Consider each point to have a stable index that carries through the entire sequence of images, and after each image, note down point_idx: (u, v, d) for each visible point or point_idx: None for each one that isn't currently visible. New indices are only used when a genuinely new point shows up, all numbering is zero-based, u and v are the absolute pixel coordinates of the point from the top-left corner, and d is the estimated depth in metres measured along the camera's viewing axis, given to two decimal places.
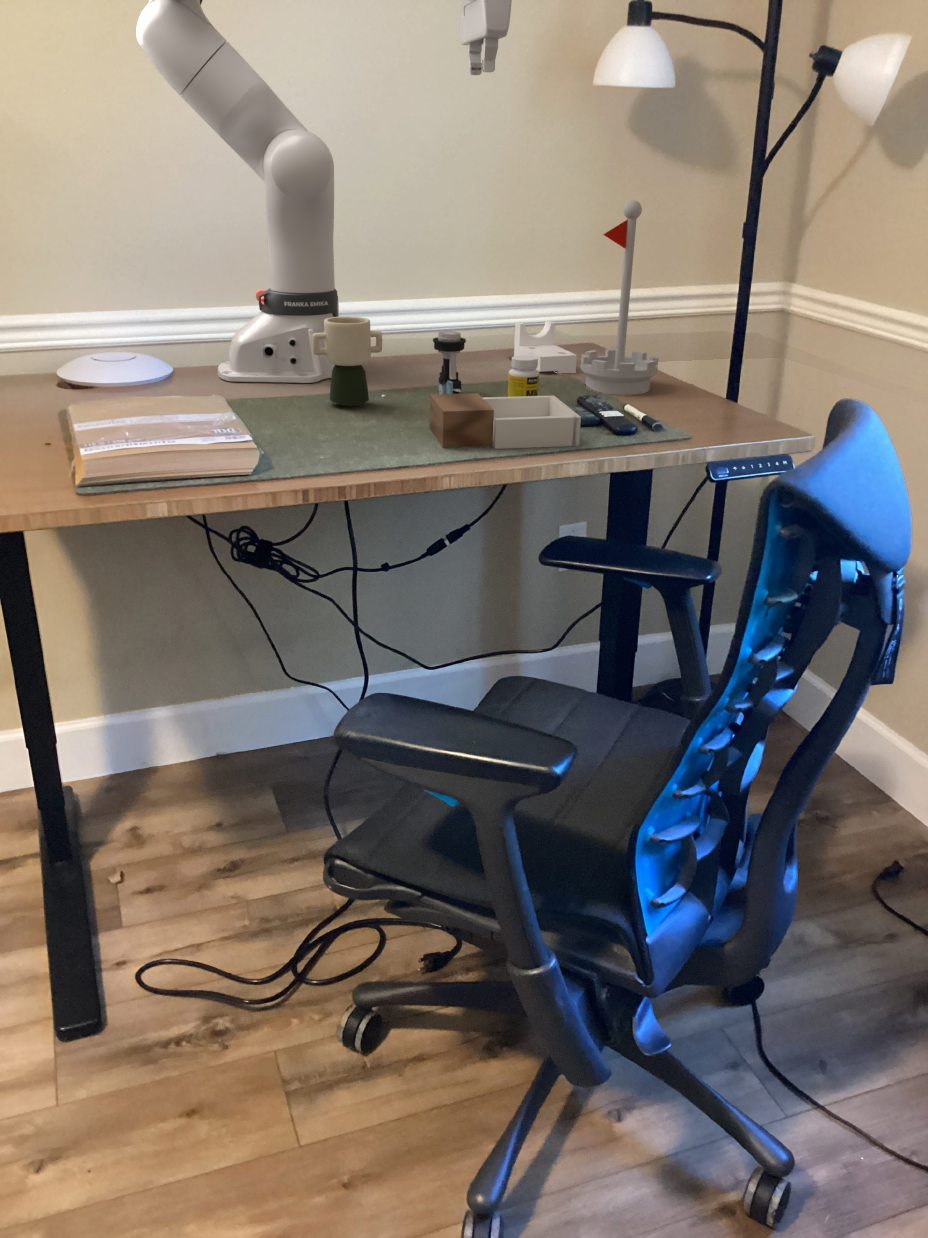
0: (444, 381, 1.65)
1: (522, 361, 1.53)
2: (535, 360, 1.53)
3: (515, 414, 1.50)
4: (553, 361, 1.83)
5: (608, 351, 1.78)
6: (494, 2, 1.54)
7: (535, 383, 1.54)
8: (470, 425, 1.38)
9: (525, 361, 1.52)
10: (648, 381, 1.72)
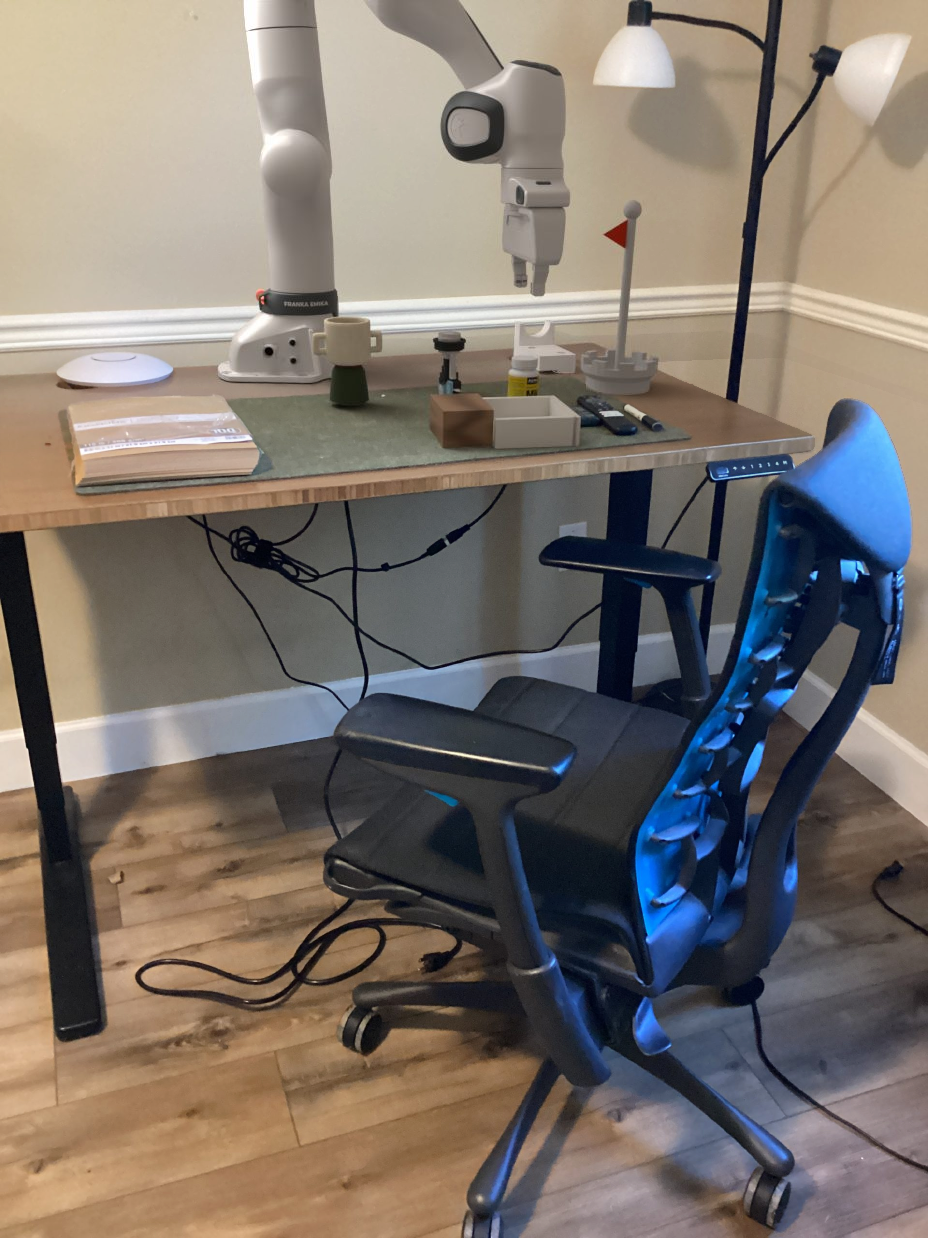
0: (444, 381, 1.65)
1: (522, 361, 1.53)
2: (535, 360, 1.53)
3: (515, 414, 1.50)
4: (553, 360, 1.83)
5: (608, 351, 1.78)
6: (546, 232, 1.38)
7: (535, 383, 1.54)
8: (470, 425, 1.38)
9: (525, 361, 1.52)
10: (648, 381, 1.72)
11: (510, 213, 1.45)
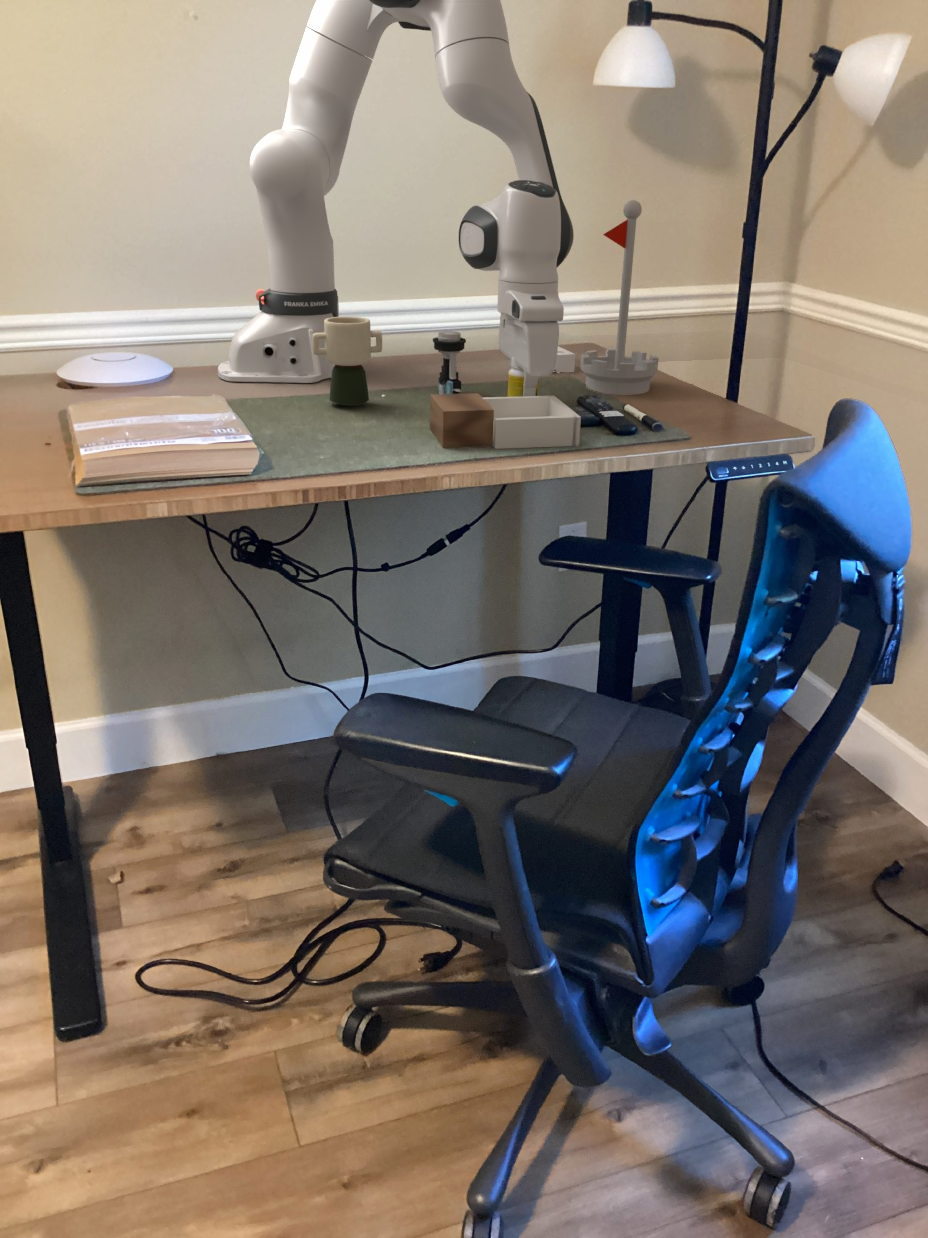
0: (444, 381, 1.65)
1: None
2: None
3: (515, 414, 1.50)
4: None
5: (608, 351, 1.78)
6: (540, 345, 1.44)
7: None
8: (470, 425, 1.38)
9: None
10: (648, 381, 1.72)
11: (506, 322, 1.51)
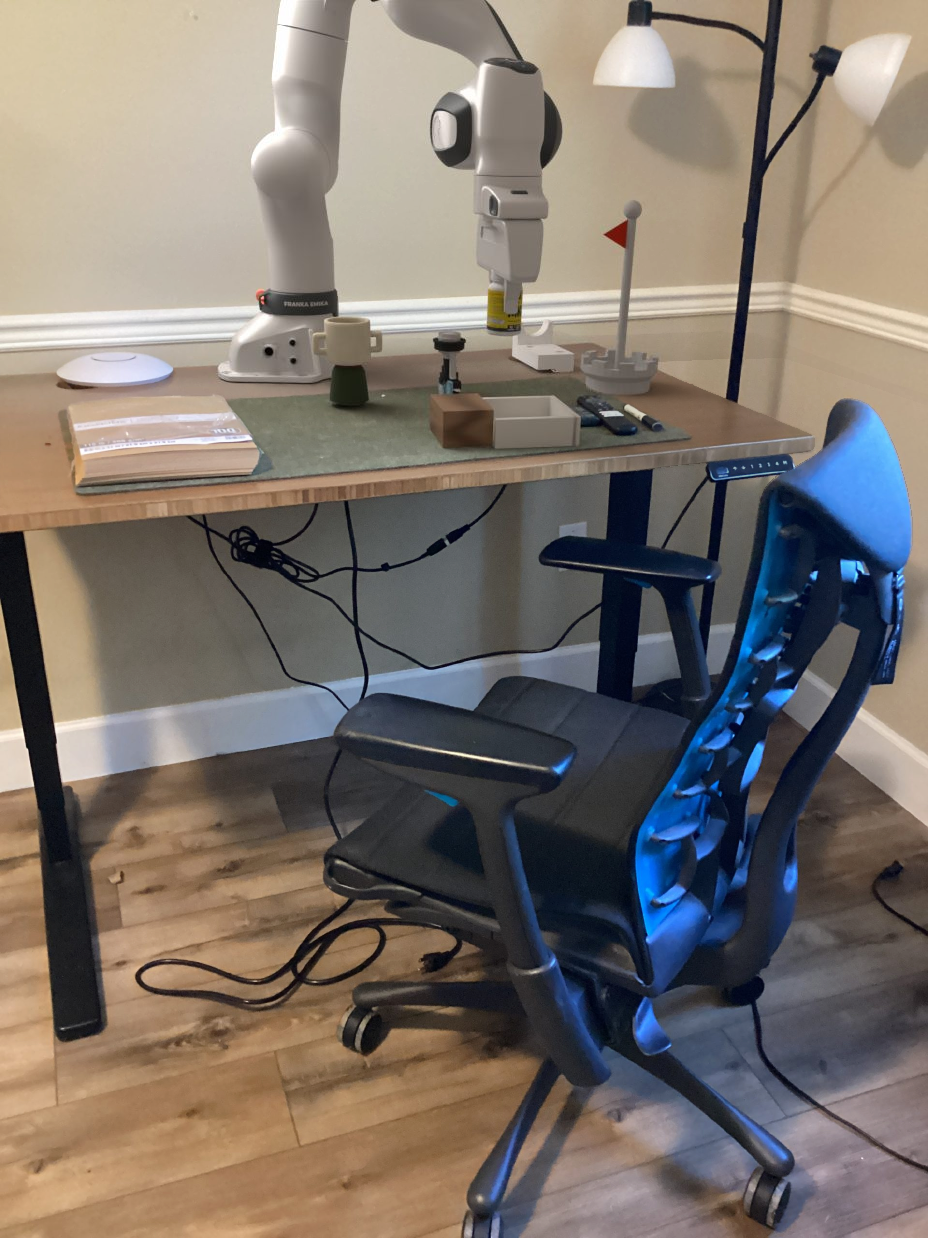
0: (444, 381, 1.65)
1: None
2: None
3: (515, 414, 1.50)
4: (551, 360, 1.84)
5: (608, 351, 1.78)
6: (522, 246, 1.25)
7: None
8: (470, 425, 1.38)
9: None
10: (648, 381, 1.72)
11: (483, 225, 1.32)
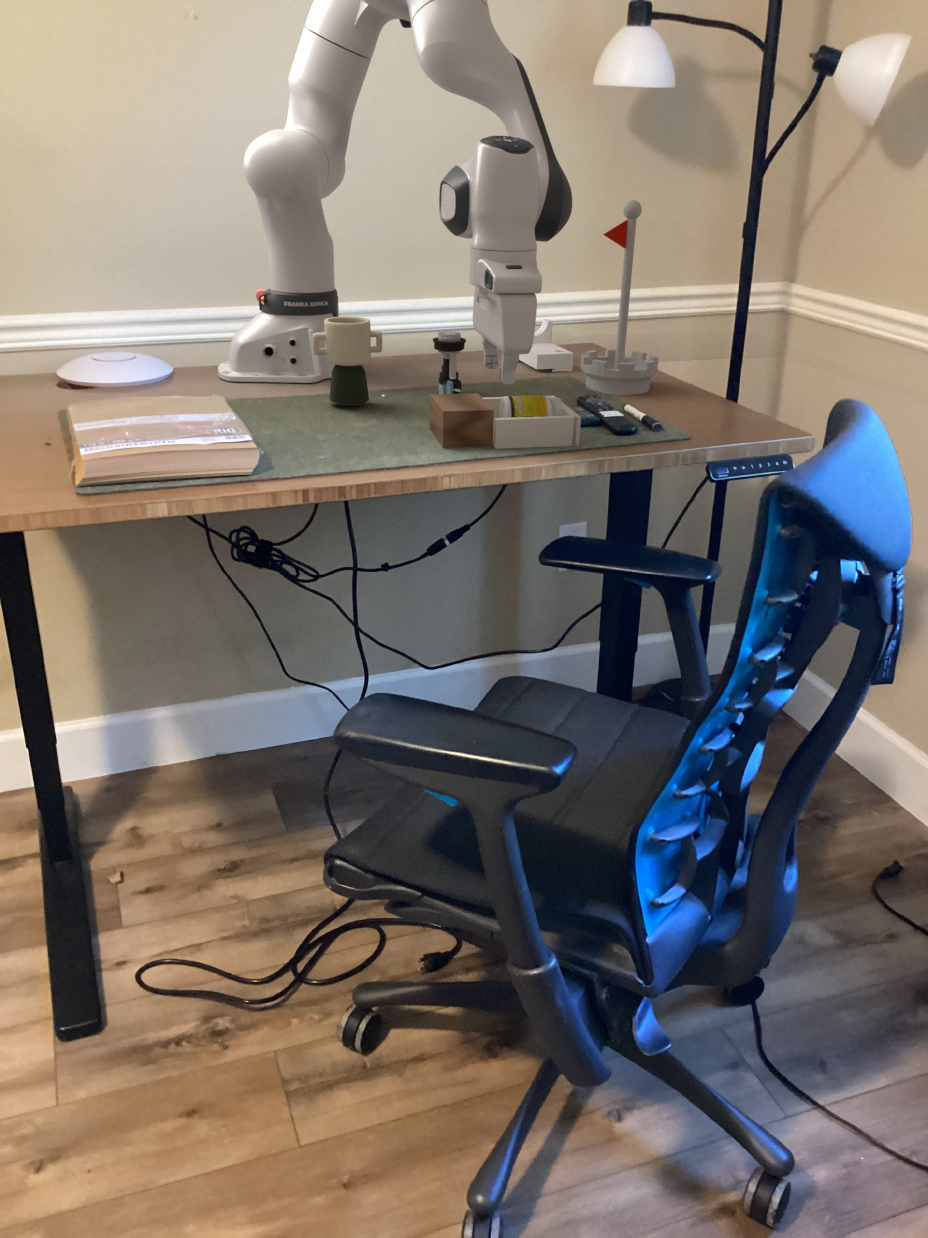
0: (444, 381, 1.65)
1: (561, 409, 1.44)
2: None
3: None
4: (550, 359, 1.84)
5: (608, 351, 1.78)
6: (515, 320, 1.29)
7: None
8: (470, 425, 1.38)
9: (562, 412, 1.44)
10: (648, 381, 1.72)
11: (479, 295, 1.36)
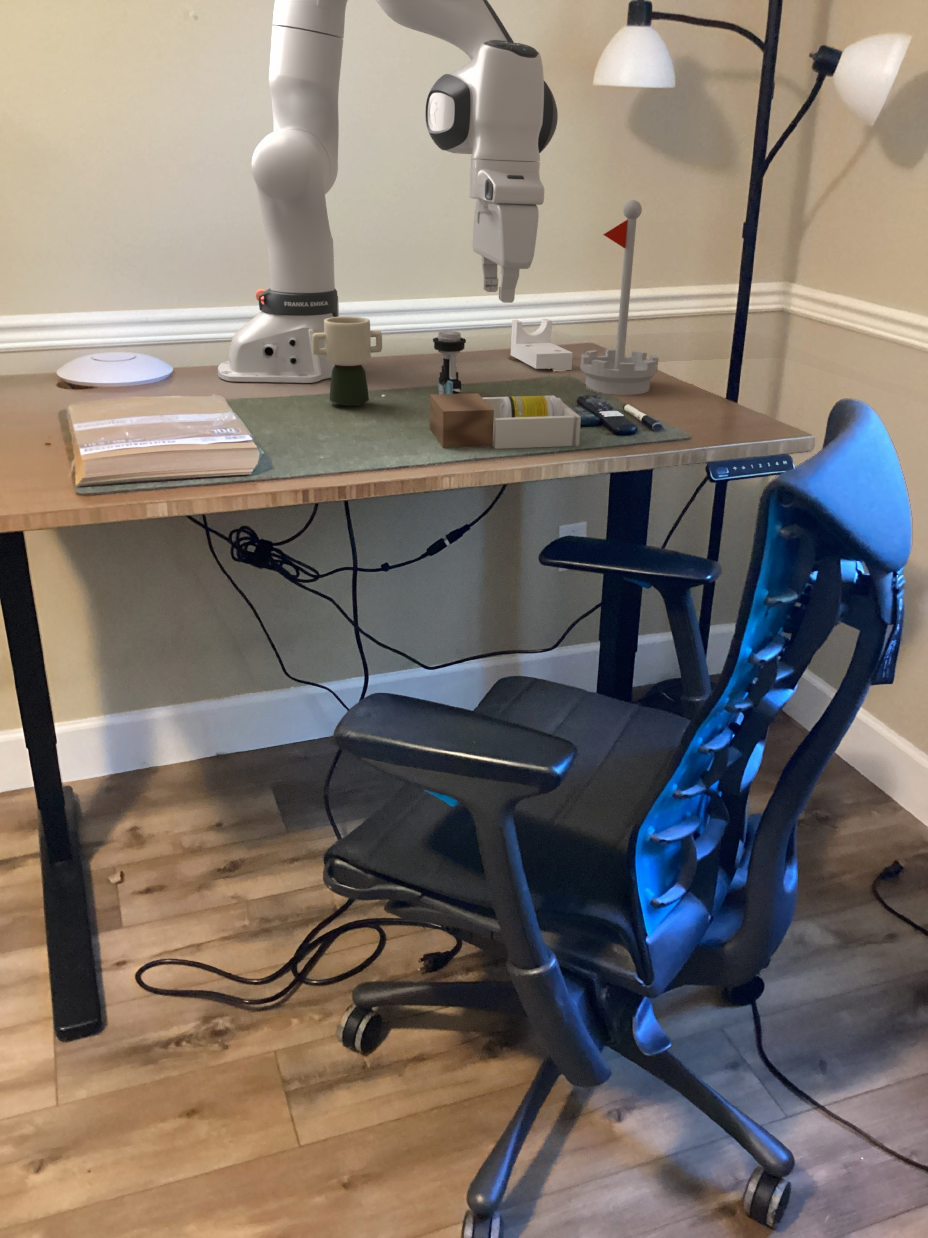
0: (444, 381, 1.65)
1: (562, 410, 1.43)
2: None
3: None
4: (550, 358, 1.85)
5: (608, 351, 1.78)
6: (516, 231, 1.24)
7: None
8: (470, 425, 1.38)
9: (562, 414, 1.43)
10: (648, 381, 1.72)
11: (479, 209, 1.31)
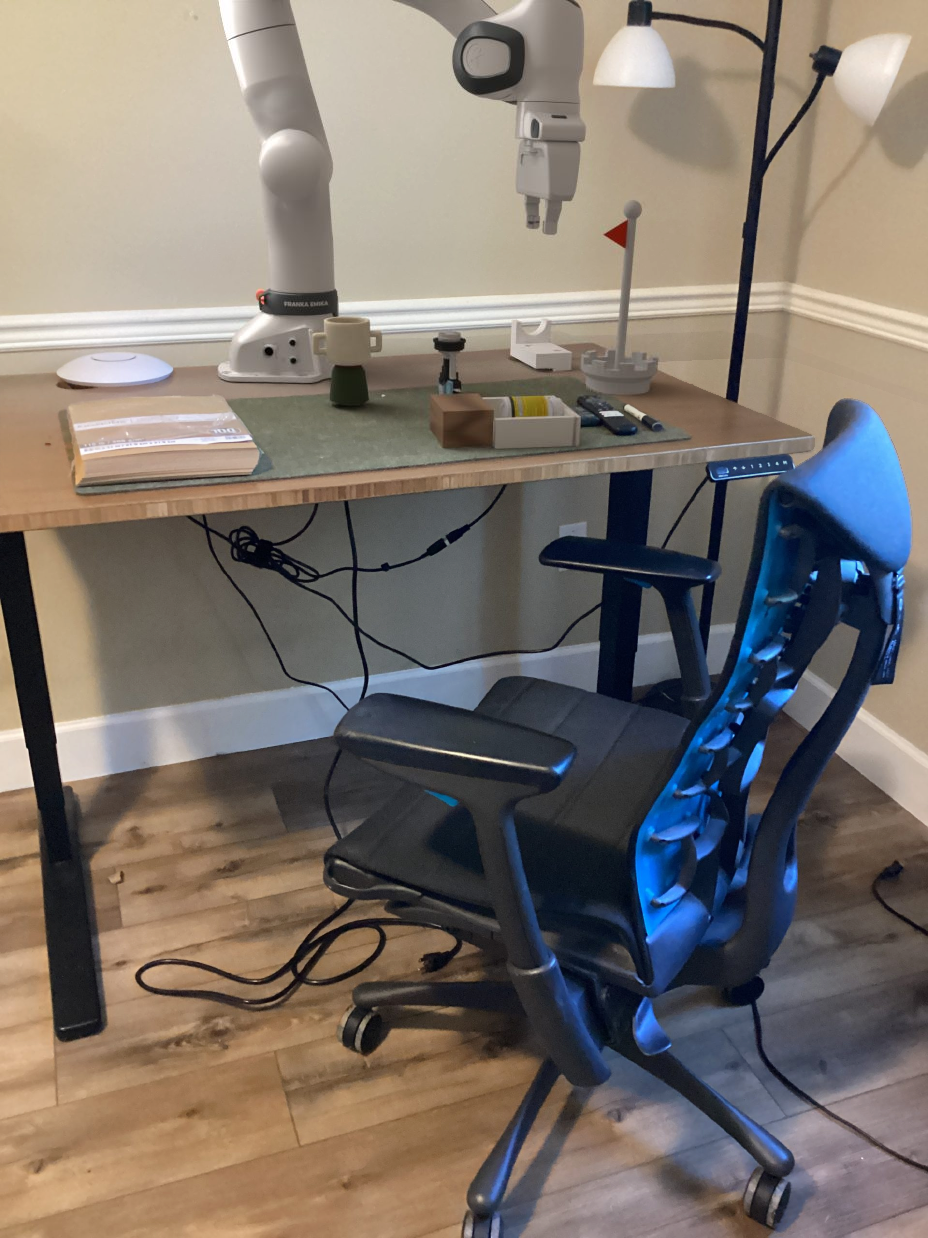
0: (444, 381, 1.65)
1: (562, 411, 1.43)
2: None
3: None
4: (549, 358, 1.85)
5: (608, 351, 1.78)
6: (560, 166, 1.36)
7: None
8: (470, 425, 1.38)
9: (562, 414, 1.43)
10: (648, 381, 1.72)
11: (524, 149, 1.43)
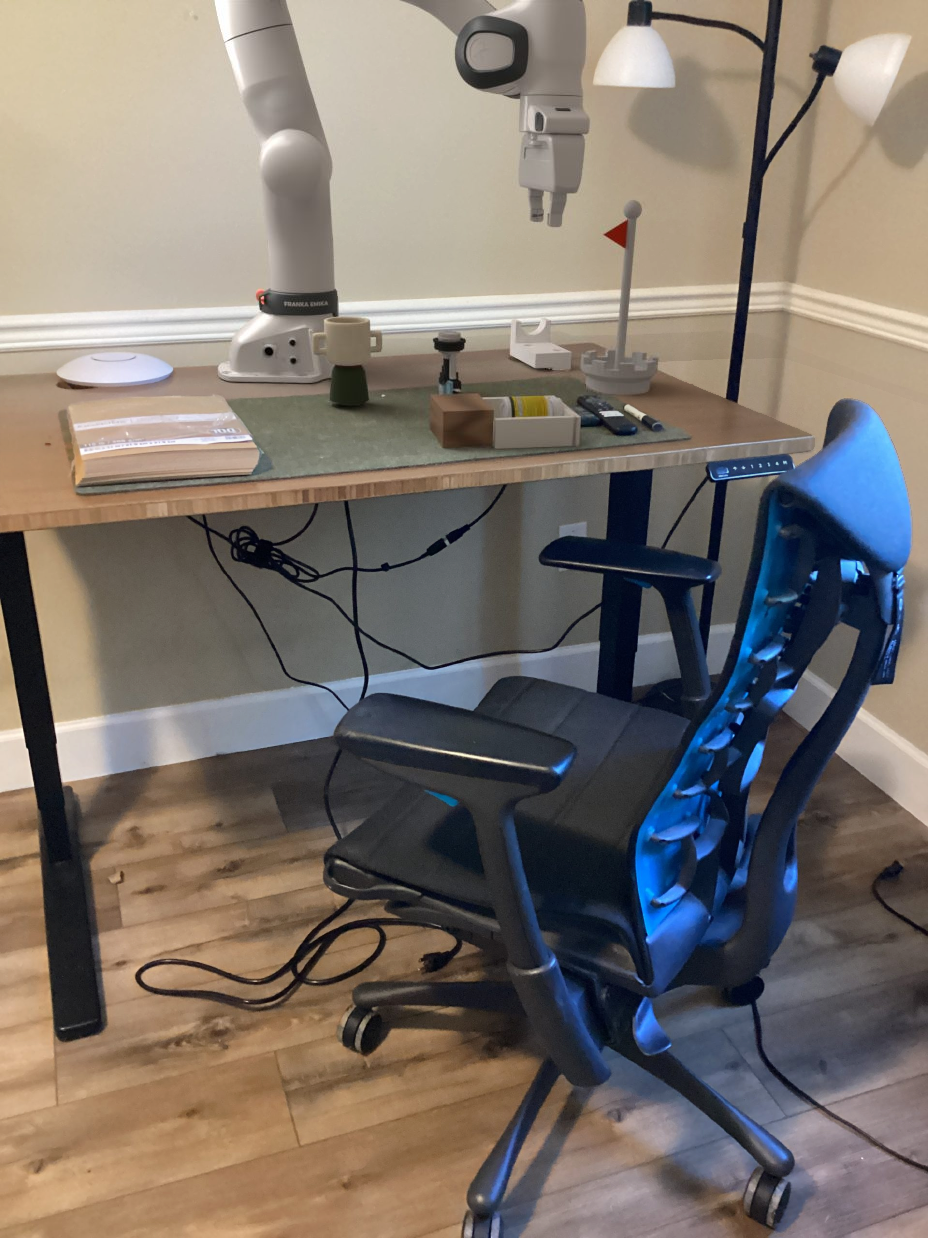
0: (444, 381, 1.65)
1: (562, 411, 1.43)
2: None
3: None
4: (549, 358, 1.85)
5: (608, 351, 1.78)
6: (565, 158, 1.37)
7: None
8: (470, 425, 1.38)
9: (562, 414, 1.43)
10: (648, 381, 1.72)
11: (528, 142, 1.44)
